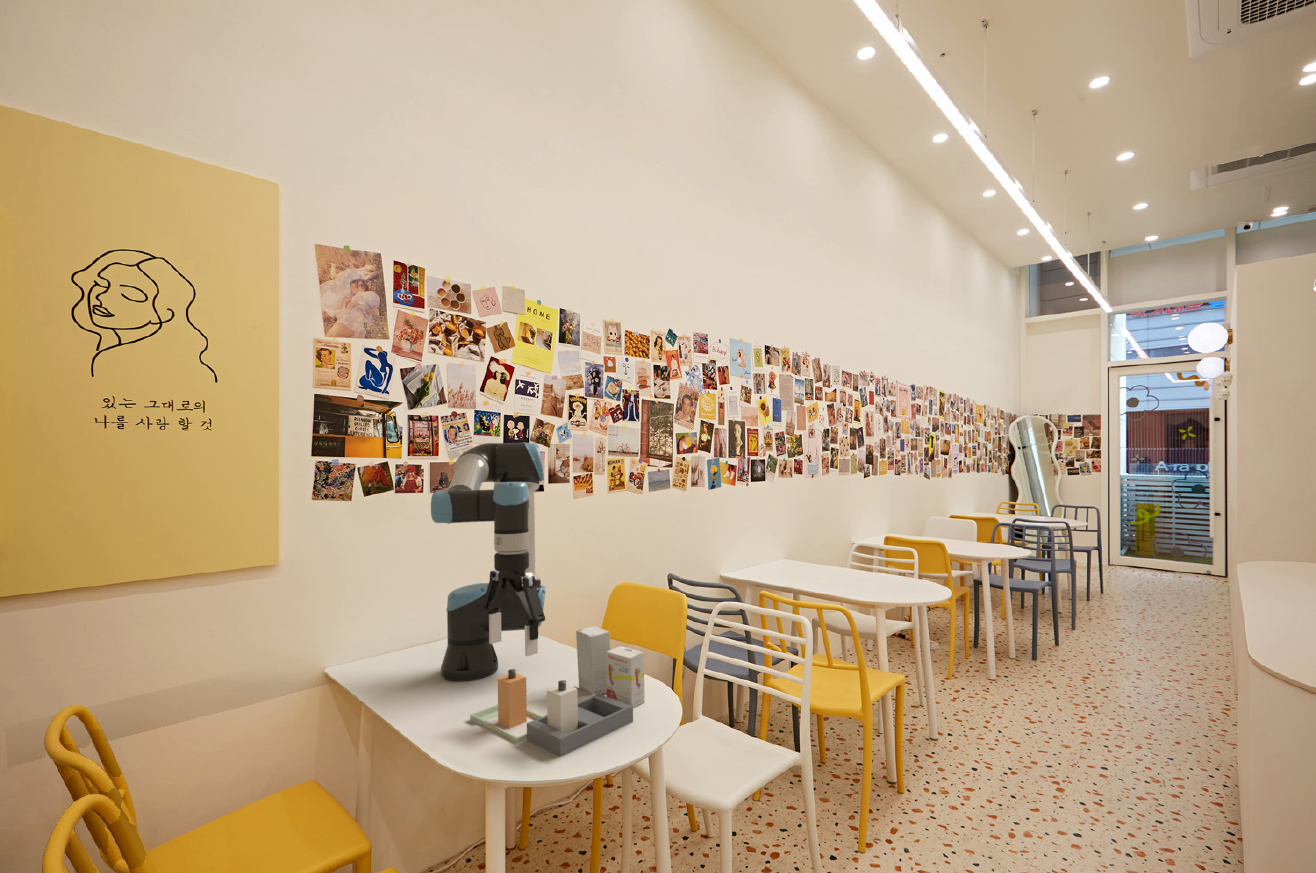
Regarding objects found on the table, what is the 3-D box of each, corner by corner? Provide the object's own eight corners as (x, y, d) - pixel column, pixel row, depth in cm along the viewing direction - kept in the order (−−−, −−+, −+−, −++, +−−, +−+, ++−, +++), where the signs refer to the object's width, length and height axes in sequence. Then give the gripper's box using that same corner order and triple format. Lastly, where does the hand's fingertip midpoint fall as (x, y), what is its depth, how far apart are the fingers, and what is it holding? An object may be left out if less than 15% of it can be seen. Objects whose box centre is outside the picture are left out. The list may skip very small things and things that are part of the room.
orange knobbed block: (498, 724, 132) (497, 670, 133) (515, 717, 136) (514, 665, 136) (509, 730, 129) (509, 675, 130) (526, 723, 133) (526, 669, 133)
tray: (470, 721, 135) (470, 714, 135) (508, 707, 142) (508, 700, 142) (517, 745, 123) (517, 738, 123) (556, 728, 130) (556, 721, 130)
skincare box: (613, 692, 150) (612, 632, 150) (591, 698, 146) (590, 636, 147) (597, 682, 157) (596, 624, 157) (576, 687, 153) (575, 628, 154)
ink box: (605, 700, 145) (604, 650, 146) (620, 693, 149) (619, 645, 149) (631, 709, 140) (630, 657, 140) (645, 702, 143) (644, 652, 144)
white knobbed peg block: (547, 739, 124) (546, 682, 124) (564, 731, 127) (563, 676, 127) (561, 746, 121) (560, 687, 121) (578, 738, 124) (577, 681, 124)
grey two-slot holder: (526, 743, 124) (526, 723, 124) (599, 711, 139) (598, 693, 139) (560, 760, 116) (560, 739, 117) (633, 724, 131) (632, 706, 131)
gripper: (466, 548, 139) (467, 641, 139) (531, 559, 123) (533, 664, 122) (494, 545, 145) (495, 634, 144) (560, 554, 128) (562, 655, 128)
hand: (512, 648), depth 133 cm, fingers open, 13 cm apart
